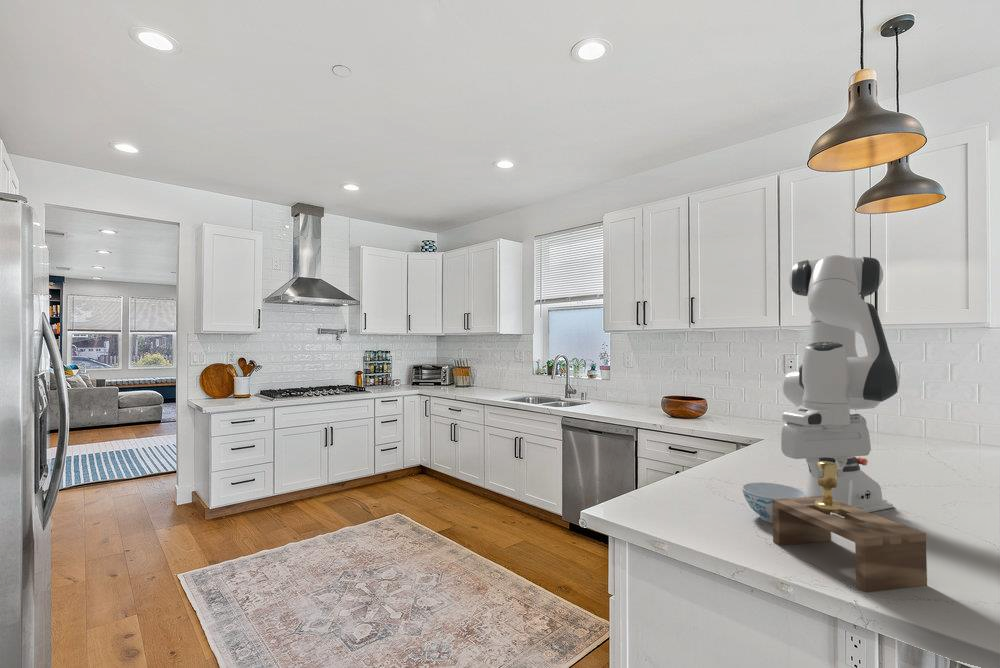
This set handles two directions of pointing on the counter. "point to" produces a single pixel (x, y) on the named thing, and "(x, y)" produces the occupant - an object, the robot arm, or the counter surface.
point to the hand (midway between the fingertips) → (826, 476)
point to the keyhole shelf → (857, 541)
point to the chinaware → (768, 497)
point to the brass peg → (828, 487)
